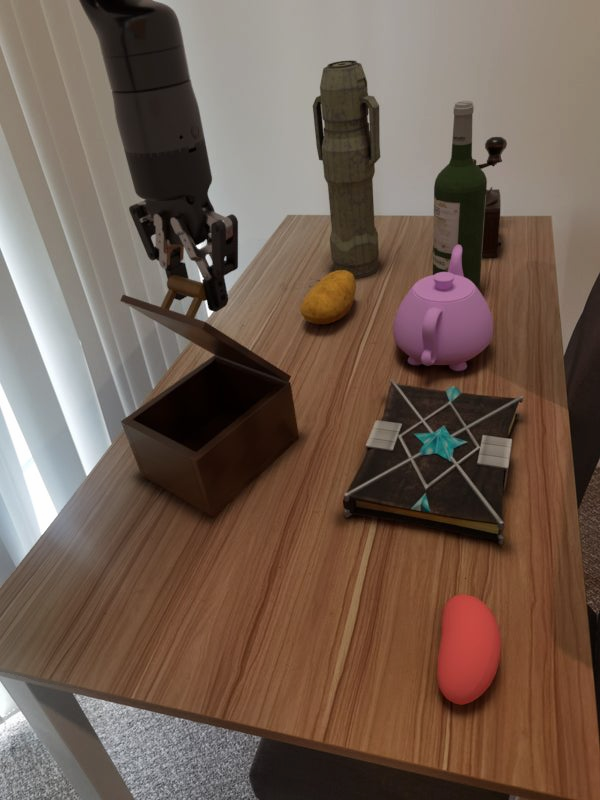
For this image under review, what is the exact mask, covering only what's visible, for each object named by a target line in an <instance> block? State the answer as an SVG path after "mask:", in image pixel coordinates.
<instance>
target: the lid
mask: <svg viewBox="0 0 600 800" xmlns="http://www.w3.org/2000/svg"><path fill="white" fill-rule="evenodd" d="M188 278H189V277H188ZM188 278H184V277H181V276H177V275H172V276H170V277H169V278H168V279H167V281H166V287H167V289H168V290H167V292H166V295H165V296H164V299H163V301H162V302H161V305H156V304H154V303H151V302H147V301H144V300H141V299H138V298H135V297H132V296H129V295H126V294H122V296H121V298H120V302H121V303H123V304H125V305H127V306H128V307H129V308H132V309H134V310H135V311H137V312H139V313H140V314H141V315H144V316H146V317H147V318H149V319H151V320H153V321H154V322H156V323H158V324H160V325H162V326H163V327H165V328H166V329H168V330H170V331H172V332H174V333H175V334H177V335H179V336H181V337H183V338H184V339H185V340H187V341H189V342H191V343H193V344H194V345H196V346H198V347H200V348H202V349H203V350H205V351H207V352H209V353H211V354H212V355H213V356H214V355H217V356H220V357H222V358H225V359H228V360H230V361H233V362H236V363H238V364H241V365H244V366H246V367H249V368H252V369H255V370H257V371H260V372H263V373H265V374H268V375H271V376H273V377H276V378H279V379H281V380H284V381H287V382H290V380H291V377H292V376H291V375H290V374H288V373H287V372H285V371H284V370H282V369H281V368H279V367H277V366H276V365H274V364H273V363H271V362H269V361H268V360H266V359H265V358H263V357H262V356H260V355H259V354H257V353H256V352H254V351H252V350H251V349H249V348H248V347H246V346H245V345H243V344H241V343H240V342H238V341H237V340H235V339H233V338H232V337H230V336H228V335H227V334H226V333H224V332H222V331H220V330H219V329H218V328H216V327H214V326H213V325H211V324H210V323H208V322H207V321H204V320H201V319H198V318H196V316H197V314H198V311H199V309H200V307H201V306H202V303H203V302H207V299H206V295H205V290H204V286H203V281H198V280H195V279H191V278H189V279H188ZM177 293H179V294H182V295H185V296H187V297H189V298H192V300H191V303H190V304H189V307H188V309H187V312H186V313H185V314H184V313H180V312H178V311H174V310H171V307H172V304H173V302H174V301H175V299H174V298H175V296H176V294H177Z"/></svg>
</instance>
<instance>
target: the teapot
mask: <svg viewBox="0 0 600 800" xmlns="http://www.w3.org/2000/svg"><path fill="white" fill-rule="evenodd" d="M493 321H494V320H493V317H492V312H491V309H490V307H489V304H488V303H487V301H486V299H485V298H484V296H483V294H482V293H481V291H480V289H479V290H478V288H477V287H476V286H475V285H474V283H473V282H472V281H470V280H469V279H467V278H465V277H464V275H463V270H462V247H461V245H456V246H455V247H454V249H453V251H452V256H451V261H450V265H449V269H448V272H439V273H436V274H435V275H433V274H432V275H428V276H424V277H422V278H420V279H419V280H418V281H416V282H415V283H414V285H412V287H411V288H410V289H409V291H407V293H406V295H405V296H404V297H403V299H402V301H401V303H400V304H399V306H398V309H397V311H396V314H395V317H394V321H393V328H392V335H393V336H392V337H393V340H394V341H395V344H396V345H397V346H398V348H399V349H400V350H401V351H403V353H405V354H406V355H407V356H408V358H407V363H408V364H410V365H412V366H420V365H423V366H426V367H428V366H429V367H430V366H433V365H435V366H448V367H449V369H450V370H452V371H455V372H461V371H464V370H466V369H467V367H468V365H467V361H470V360H473V358H475V357H476V356H478V355H479V354H481V353H482V352H483V351H484V350H485V349H486V348H487V347H488V346H489V344H490V343H491V341H492V339H493V337H494V322H493Z"/></svg>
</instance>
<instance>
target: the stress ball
mask: <svg viewBox="0 0 600 800" xmlns="http://www.w3.org/2000/svg"><path fill="white" fill-rule="evenodd" d="M501 651H502V640H501V633H500V627H499V624H498V622H497V619H496V617H495V615H494V614H493V612H492V611H491V609H490V608H489V606H488V605H487V604H486V603H484V602H483V601H482V600H480V599H479V598H477V597H476V596H474V595H469V594H465V593H463V594H456V595H454V596H452V597H451V598H450V599H449V600H448V601H447V602H446V603H445V605H444V607H443V610H442V616H441V637H440V643H439V648H438V657H437V667H436V676H437V677H436V678H437V679H436V680H437V683H438V684H437V685H438V688H439V690H440V692H441V694H442V695H443V696H444V697H445V699H447V700H448V701H450V702H452V703H453V704H456V705H461V706H463V705H467V704H469V703H472V702H474V701H475V700H476V699H478V698H479V697H481V696H482V695H483V694H484V693H485V692H486V690H487V689H488V688H489V687H490V686H491V684H492V682H493V680H494V679H495V677H496V674H497V671H498V668H499V663H500V660H501Z"/></svg>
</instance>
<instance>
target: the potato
mask: <svg viewBox="0 0 600 800" xmlns="http://www.w3.org/2000/svg"><path fill="white" fill-rule="evenodd" d="M356 291H357V284H356V279H355V278H354V276H353V274H352V273H350V272H348V271H346V270H337V271H332V272H329V273H327V274H326V275H325V276H324V277H323V278H322V279H320V280H319V282H317V283H316V284H315V285H314V286H313V287H312V288H311V290H310V291H309V292H308V293H307V294H306V295H305V297H304V299H303V300H302V302H301V305H300V310H299V311H300V313H301V315H302V317H303V318H304V319H305V320H306V321H308V322H310V323H313V324H316V325H328V324H331V323H333V322H336V321H339V320H340V319H342V318H343V317H345V316H346V314H348V313H349V312H350V310H351V308H352V306H353V303H354V300H355V296H356Z"/></svg>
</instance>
